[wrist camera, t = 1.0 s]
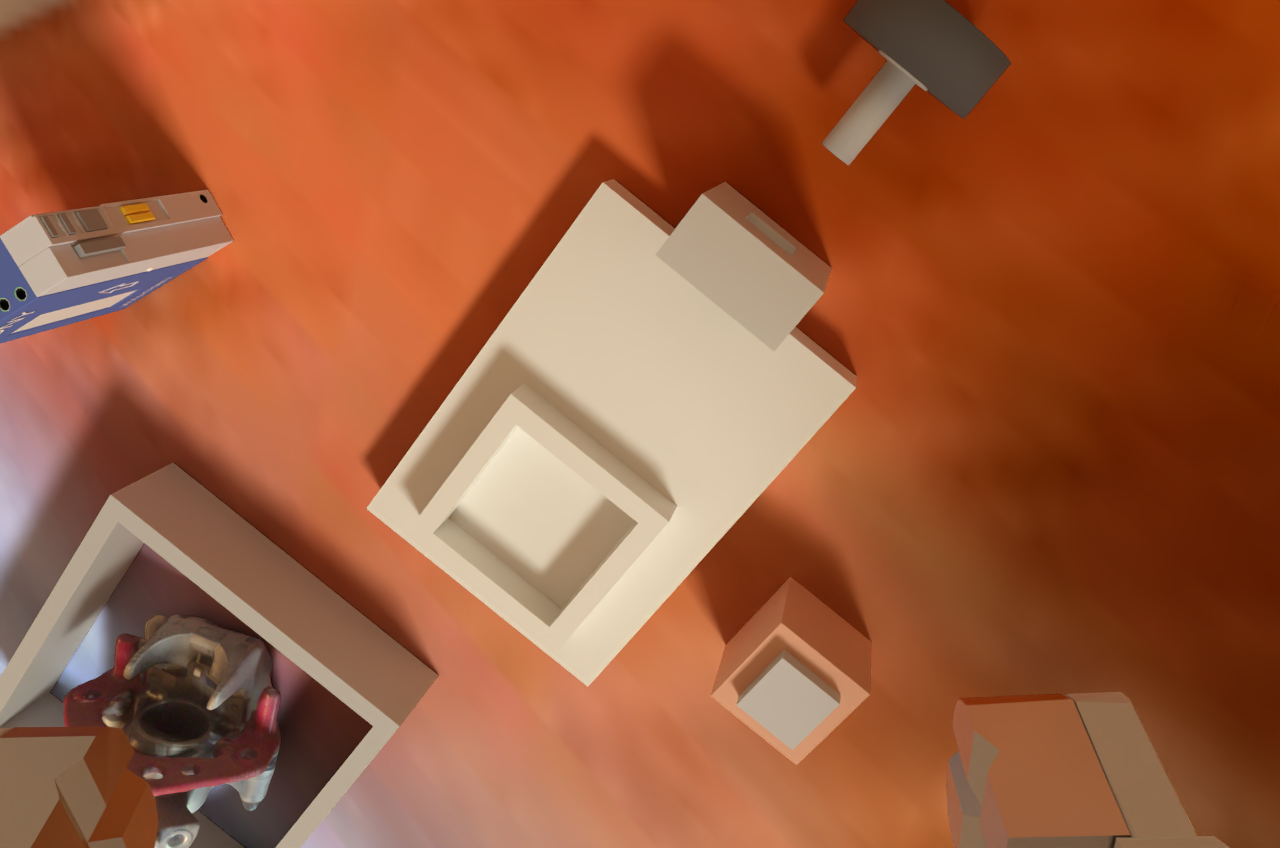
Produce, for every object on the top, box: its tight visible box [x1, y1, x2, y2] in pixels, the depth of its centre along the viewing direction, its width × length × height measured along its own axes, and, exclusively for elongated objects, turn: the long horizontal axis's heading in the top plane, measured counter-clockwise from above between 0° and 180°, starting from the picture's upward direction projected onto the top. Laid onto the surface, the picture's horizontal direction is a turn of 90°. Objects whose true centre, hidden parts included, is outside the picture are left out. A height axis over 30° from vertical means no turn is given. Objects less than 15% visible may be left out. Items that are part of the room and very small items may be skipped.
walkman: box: [0, 190, 234, 343], centre depth 49 cm, size 8×3×12 cm, turn 118°
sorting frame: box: [0, 463, 439, 848], centre depth 59 cm, size 18×19×5 cm
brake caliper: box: [63, 614, 281, 848], centre depth 58 cm, size 11×11×12 cm
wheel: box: [822, 0, 1011, 165], centre depth 42 cm, size 6×7×6 cm
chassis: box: [366, 179, 857, 686], centre depth 49 cm, size 14×23×6 cm, turn 143°
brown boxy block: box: [711, 577, 872, 765], centre depth 51 cm, size 5×5×6 cm
